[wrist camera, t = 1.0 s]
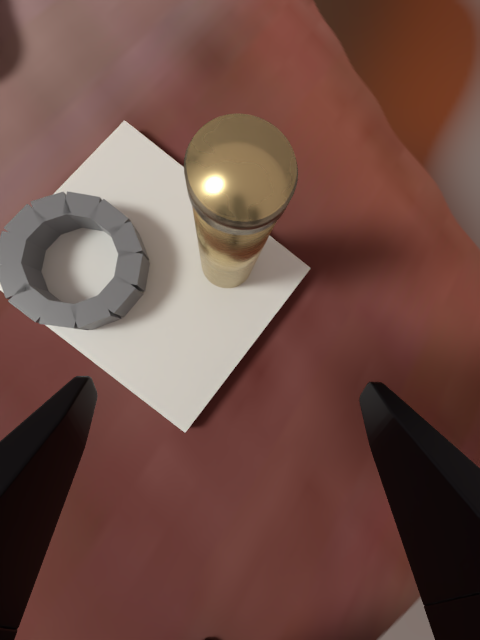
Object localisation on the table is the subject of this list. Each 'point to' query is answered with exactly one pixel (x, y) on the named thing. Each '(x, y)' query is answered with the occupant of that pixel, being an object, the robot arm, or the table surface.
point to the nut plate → (177, 286)
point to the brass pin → (237, 192)
